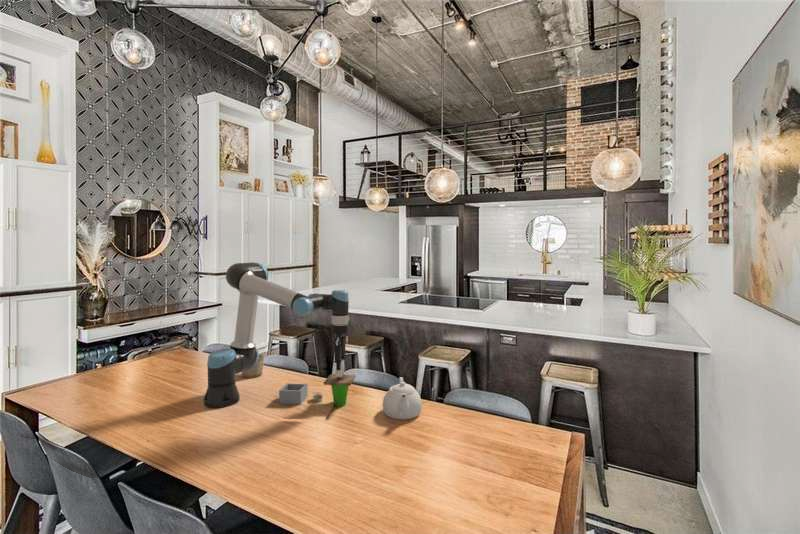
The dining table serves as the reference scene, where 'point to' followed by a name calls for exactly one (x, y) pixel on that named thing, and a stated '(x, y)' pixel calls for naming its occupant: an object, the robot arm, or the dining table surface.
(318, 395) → the maple block
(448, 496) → the dining table surface
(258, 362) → the planter
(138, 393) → the dining table surface
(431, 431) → the dining table surface
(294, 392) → the grey open box
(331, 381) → the lid
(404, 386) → the teapot
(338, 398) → the cup
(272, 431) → the dining table surface
